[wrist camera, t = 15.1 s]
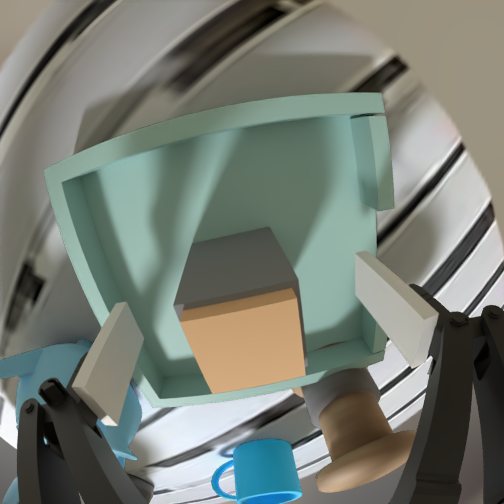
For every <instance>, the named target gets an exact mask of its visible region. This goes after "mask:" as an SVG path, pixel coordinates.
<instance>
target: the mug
mask: <svg viewBox="0 0 504 504" xmlns="http://www.w3.org/2000/svg"><path fill="white" fill-rule="evenodd" d="M233 465H234V475H235V487H236V496H232V495H228V494H226V493H225V492H223V491H222V490H221V489H220V487H219V484H218V482H219V478H220V476H221V474H222V473H223V472H224V471H225V470H226V469H227V468H229V467H231V466H233ZM211 484H212V488H213V490H214V491H215V492H216V493H217V494H218V495H219V496H221V497H223V498H225V499H229V500H233V501H237V503H238V504H282V503H286V502H290V501H293V500H295V499H297V498H299V497H301V496H302V491H301V487H300V482H299V478H298V474H297V469H296V465H295V461H294V456H293V452H292V448H291V444H290V443H288V442H287V441H283V440H279V439H262V440H256V441H251V442H248V443H244V444H242V445H240V446H238V447H236V448H235V449H234V450H233V460H231V461H228V462H227V463H225V464H223V465H221V466H220V467H219V468H218V469H217V470H216V471H215V473H214V474H213V476H212V480H211Z"/></svg>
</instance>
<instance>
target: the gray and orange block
mask: <svg viewBox="0 0 504 504" xmlns="http://www.w3.org/2000/svg"><path fill="white" fill-rule="evenodd" d="M173 307H174V309H175V312H176V314H177V317H178V319H179V322H180V324H181V327H182V329H183V331H184V334H185V336H186V338H187V341H188V343H189V345H190V348H191V350H192V352H193V354H194V357H195V359H196V361H197V363H198V365H199V367H200V370H201V372H202V374H203V376H204V378H205V380H206V382H207V384H208V386H209V388H210V390H211V392H212V394H215V393H222V392H229V391H235V390H241V389H247V388H252V387H257V386H262V385H267V384H272V383H277V382H281V381H285V380H290V379H294V378H298V377H302V376H306V374H305V367H308V360H307V350H306V340H305V330H304V321H303V312H302V303H301V295H300V287H299V279H298V277H297V276H296V274H295V272H294V270H293V268H292V266H291V265H290V263H289V261H288V259H287V257H286V255H285V254H284V252H283V250H282V248H281V246H280V245H279V243H278V241H277V239H276V237H275V236H274V234H273V232H272V230H271V228H270V227H265V228H260V229H255V230H251V231H246V232H241V233H237V234H232V235H228V236H223V237H219V238H214V239H210V240H205V241H201V242H196V243H192V244H191V247H190V251H189V254H188V257H187V260H186V263H185V267H184V270H183V273H182V276H181V280H180V283H179V287H178V290H177V293H176V297H175V300H174V304H173Z"/></svg>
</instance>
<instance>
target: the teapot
mask: <svg viewBox="0 0 504 504" xmlns="http://www.w3.org/2000/svg"><path fill="white" fill-rule="evenodd" d="M92 345H93V344H92V343H91V342H90V341H88V340H86V339H79V340H78V341H77V344H71V343H68V344H57V345H51V346H47V347H44V348H41V349H40V348H38V349H35V350H32V351H29V352H25V353H22V354H19V355H15V356H12V357H9V358H5V359H2V360H0V379H3V378H8V377H13V376H19V377H20V379H19V382H18V387H17V394H16V422H17V424H18V425H17V426H16V427H17V430H18V426H19V416H20V409H21V406H22V405H23V403H24V402H25V401H26V400H28V399H30V398H35V399H36V400H37V401H38V402H39V403H40V404H41V405H42V404H47V403H46V402H45V401H44V400H43V399H42V398H41V396H40V395H39V394H38V389H39V387H40V385H41V384H42V383H43V382H44V381H45V380H47V379H49V378H54V377H55V378H57V379H58V380H59V381H60V382H61V384H62V385H63V386H64V387H65V389H66V387H67V384H68V382H69V380H70V378H71V376H72V374H73V372H74V370H75V368H76V367H77V365H78V363H79V361H80V359H81V358H82V356H83V355H84V354H85V353H86V352H89V350H90V349H91V347H92ZM141 418H142V409H141V405H140V403H139V400H138V398H137V396H136V394H135V392H134V391H133V387H132V385H131V384H129V388H128V391H127V394H126V398H125V401H124V405H123V408H122V412H121V416H120V419H119V423H118V426H111V425H104V424H103V423H102V422H101V421H100V419H99V418H98V419H97V423H96V424H97V425H98V426H99V427H100V429H101V431H102V433H103V434H104V436H105V438H106V440H107V442H108V444H109V445H110V447H111V449H112V451H113V452H114V454H115V456H116V457H117V459H118V461H119V462H120V464H121V465H122V467H123V469H124V468H125V458H127V459H132V460H138V458H137V457H136V456H135V455H134V454H133V453H132V452H131V451H130V449H129V446H128V445H129V444H130V442H131V441H132V439H133V437H134V436H135V434H136V432H137V430H138V427H139V425H140V422H141ZM44 441H45V444H47V440H46V439H45V438H44Z"/></svg>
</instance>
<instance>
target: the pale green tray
mask: <svg viewBox="0 0 504 504" xmlns="http://www.w3.org/2000/svg"><path fill="white" fill-rule="evenodd" d="M379 113H385V110H384V104H383V99H382V94H381V93H326V94H309V95H297V96H287V97H279V98H271V99H263V100H257V101H250V102H244V103H239V104H233V105H228V106H223V107H218V108H213V109H209V110H204V111H200V112H196V113H192V114H188V115H184V116H180V117H177V118H173V119H169V120H166V121H163V122H159V123H156V124H153V125H150V126H146V127H143V128H140V129H137V130H134V131H132V132H129V133H126V134H123V135H120V136H118V137H115V138H112V139H110V140H107V141H105V142H102V143H100V144H97V145H95V146H93V147H90V148H88V149H86V150H83V151H81V152H79V153H77V154H74V155H72V156H70V157H68V158H66V159H64V160H62V161H60V162H58V163H56V164H54V165H52V166H50V167H48V168H46V169H44V170H43V172H44V177H45V181H46V185H47V189H48V193H49V197H50V201H51V204H52V208H53V211H54V214H55V218H56V221H57V224H58V227H59V230H60V233H61V236H62V239H63V242H64V245H65V247H66V250H67V253H68V255H69V258H70V260H71V263H72V265H73V268H74V270H75V273H76V275H77V277H78V280H79V282H80V284H81V287H82V289H83V291H84V293H85V295H86V297H87V300H88V302H89V304H90V306H91V308H92V310H93V312H94V314H95V316H96V318H97V320H98V322H99V324H100V325H101V327H102V326H103V325H104V323H105V321H106V319H107V318H108V316H109V314H110V312H111V311H112V309H113V307H114V306H115V304H116V303H121V302H126V301H127V303H128V306H129V308H130V310H131V312H132V314H133V316H134V319H135V321H136V323H137V325H138V327H139V329H140V331H141V333H142V335H143V337H144V341H143V344H142V347H141V350H140V353H139V356H138V359H137V362H136V365H135V368H134V371H133V374H132V379H133V380H134V382H135V383H136V385H137V386H138V388H139V389H140V391H141V392H142V393H143V395H144V396H145V398H146V399H147V400H148V402H149V403H150V404H151V406H152V407H153V408H160V407H177V406H189V405H199V404H208V403H216V402H224V401H231V400H237V399H243V398H249V397H255V396H260V395H265V394H270V393H275V392H279V391H284V390H288V389H292V388H296V387H300V386H304V385H308V384H312V383H316V382H319V381H321V380H322V379H324V378H325V377H327V376H329V375H331V374H333V373H335V372H338V371H341V370H345V369H350V368H364V367H367V366H369V365H372V364H375V363H377V362H380V361H383V359H384V354H385V350H384V349H385V348H386V341H387V334H386V333H385V332H384V330H383V329H382V328H381V326H380V325H379V324H378V323H377V321H376V320H375V319H374V317H373V316H372V315H371V314H370V312H369V311H368V310H367V309H366V307H365V306H364V305H363V304H362V302H361V301H360V300H359V299H358V297H357V296H356V295H355V253H357V252H361V251H365V250H367V251H368V252H369V253H370V254H372V255H373V256H374V257H375V258H377V243H376V211H375V210H377V211H383V210H388V209H393V208H395V206H394V185H393V172H392V161H391V151H390V143H389V135H388V128H387V121H386V116H367V117H365V116H366V115H372V114H379ZM265 227H270V228H271V230H272V232H273V234H274V236H275V237H276V239H277V241H278V243H279V245H280V246H281V248H282V250H283V252H284V254H285V255H286V257H287V259H288V261H289V263H290V265H291V266H292V268H293V270H294V272H295V274H296V276H297V277H298V279H299V287H300V295H301V303H302V312H303V321H304V330H305V340H306V350H307V360H308V367H305V374H306V376H302V377H298V378H294V379H290V380H285V381H281V382H277V383H272V384H267V385H262V386H257V387H252V388H247V389H241V390H235V391H229V392H222V393H215V394H212V392H211V390H210V388H209V386H208V384H207V382H206V380H205V378H204V376H203V374H202V372H201V370H200V367H199V365H198V363H197V361H196V359H195V357H194V354H193V352H192V350H191V348H190V345H189V343H188V341H187V338H186V336H185V334H184V331H183V329H182V327H181V324H180V322H179V319H178V317H177V314H176V312H175V309H174V307H173V304H174V300H175V297H176V293H177V290H178V287H179V283H180V280H181V276H182V273H183V270H184V267H185V263H186V260H187V257H188V254H189V251H190V247H191V244H192V243H196V242H201V241H205V240H210V239H214V238H219V237H223V236H228V235H232V234H237V233H241V232H246V231H251V230H255V229H260V228H265ZM345 341H346V342H345ZM336 342H338V344H337V345H336V344H334V345H333V346H330V347H329V346H328V347H326V348H324V347H323V346H326V345H329V344H332V343H336ZM339 342H340V343H339ZM341 342H343V343H341ZM321 347H323V349H319V348H321ZM317 349H318V350H317ZM315 350H316V351H315Z"/></svg>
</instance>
